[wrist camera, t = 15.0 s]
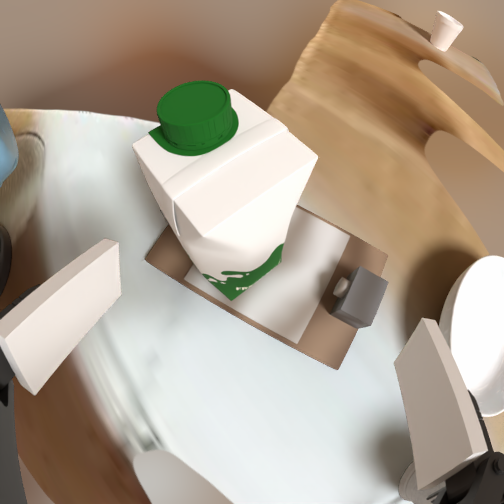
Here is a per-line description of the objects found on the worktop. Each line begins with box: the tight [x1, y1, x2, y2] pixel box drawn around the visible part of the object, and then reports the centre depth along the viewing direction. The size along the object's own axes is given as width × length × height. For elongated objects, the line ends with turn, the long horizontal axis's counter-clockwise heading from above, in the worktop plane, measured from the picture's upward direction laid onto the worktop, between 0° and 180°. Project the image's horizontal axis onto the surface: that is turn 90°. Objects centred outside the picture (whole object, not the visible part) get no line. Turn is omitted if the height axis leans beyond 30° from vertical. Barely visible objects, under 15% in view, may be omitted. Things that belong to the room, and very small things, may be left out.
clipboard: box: [145, 205, 388, 370], centre depth 30 cm, size 25×15×5 cm, turn 60°
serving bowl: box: [439, 255, 504, 417], centre depth 26 cm, size 21×21×7 cm
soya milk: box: [132, 81, 318, 301], centre depth 22 cm, size 9×9×20 cm
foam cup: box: [430, 11, 463, 51], centre depth 51 cm, size 10×9×13 cm
